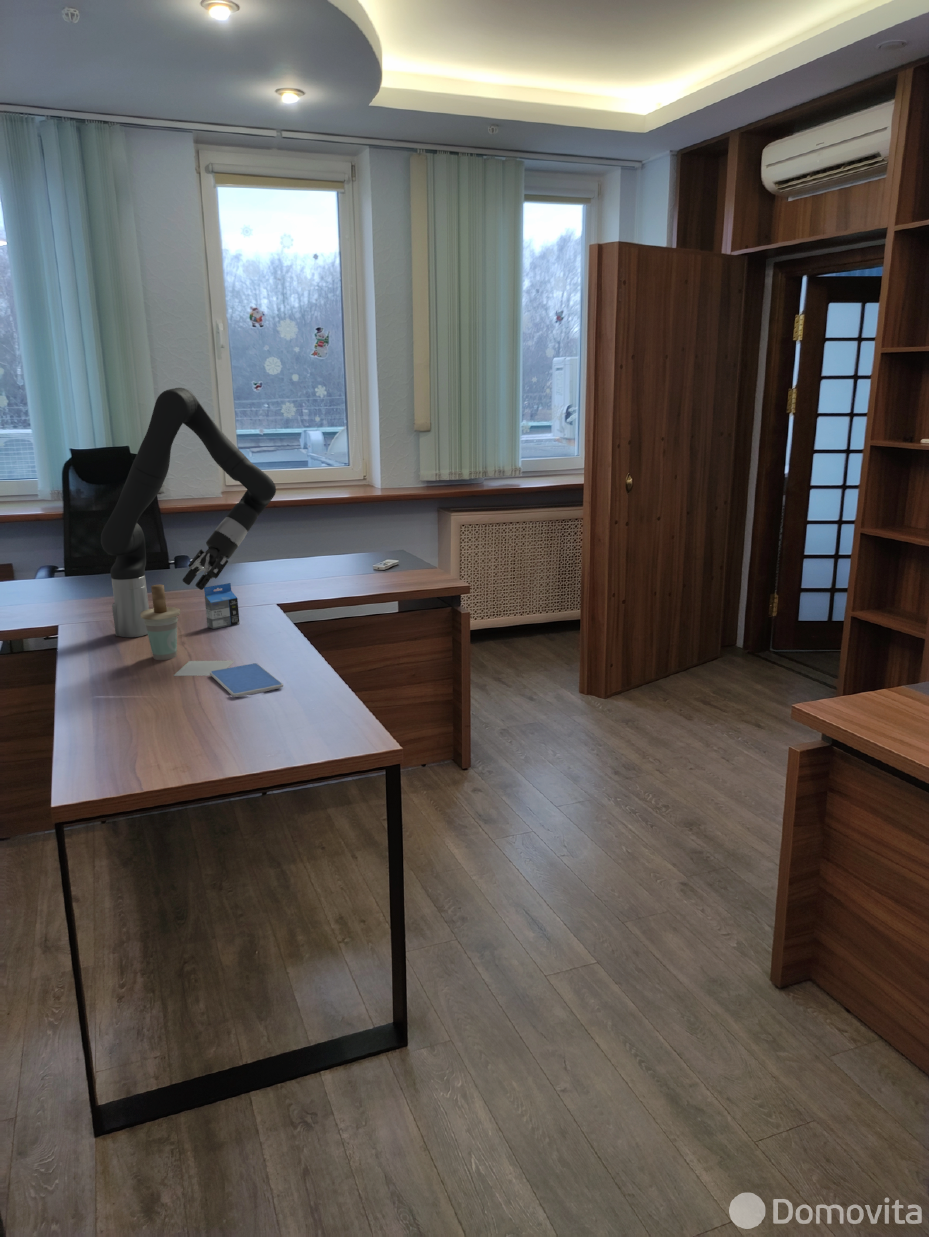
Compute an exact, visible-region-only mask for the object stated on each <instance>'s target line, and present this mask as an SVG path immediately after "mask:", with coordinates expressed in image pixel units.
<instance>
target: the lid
mask: <svg viewBox="0 0 929 1237" xmlns="http://www.w3.org/2000/svg"><path fill="white" fill-rule="evenodd" d="M150 589H151V596H152V597H151V598H152V606H153V608H149V609H148V610H145V611H143V612H141V613H140V615H141V618H143V619H148V620H158V619H167V618H172V617H175V616H176V617H177V616H180V615H181V609H180V608H179V607H174V606H167V602H166V593H165V585H164V584H153V585H151V586H150Z"/></svg>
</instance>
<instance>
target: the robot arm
mask: <svg viewBox="0 0 929 1237" xmlns="http://www.w3.org/2000/svg"><path fill="white" fill-rule="evenodd" d="M183 424H184V426H186V427H187V428H189V429H190V430H191V431H192V433H194V434H195V435H196V436H197V437H198V438H199V440H200V441H201V442H202V444H203V445H204V446H205V449H206V450H207V451H208V453H209V455H210V457H211V458H212V459H213V461H215V463H216V464H217V465H218V466H219V467H220V468H221V469H222V470H223V471H224V472H225V473H226V474H227V475H228V477H230V478H231V479H232V480H234V481H235V482H239V483H240V484H241V486H243V487H244V488H245V489H247V490H245V493H244V494H243V495H242V496H241V498H240V499H239V501H238V502H237V503H236V504H234V506H233V507H232V509H231V510H229V513H228V514H227V515H226V517H224V519H222V521H221V522H220V523H219V524H218V525H217V527H216V528H215V530H214V531H213V533H211V534H210V537H209V538H208V539H207V540H206V541H205V543H206V546H207V547H208V548H207V549H206V550H203V549H202V548H201V549H200V550H199V551H198V552H197V553H196V555H195V556H194V557H193V558H192V559H191V561H190V562H189V564H188V565H187V566H188V568H189V570H188V572H187V573H186V574H185V575H184V577H183V578H182V580H181V581H182V582H183V583H184V584H186V585H187V586H190V585H191V583H192V582H193V581H194V579H195V578H196V577H197V575H198V574H200V573H201V572H204V573H203V574H202V575H200V576H201V577H200V578H199V579H198V580H197V582H196V583H195V587H196V588H197V589H199V590H200V591H204V587H207V585H208V583H210V581H211V580H213V579H218V577H219V576H220V574H221V573H222V571H223V570H224V569H225V567H226V565H227V564H228V563H229V559H231V558H232V556H233V554H234V553H235V552H236V551H237V549H238V548H239V546H240V545H241V544H242V542H243V541H244V539H245V538H246V536H247V534H248V532H249V531H250V530H251V529H252V527H253V526H254V525H255V523H256V521H257V519H258V517H259V516H260V515H261V514H262V512H264V510H265V508H266V507H267V506H268V505H269V504H270V502H271V501H272V500H273V499H274V497H275V495H276V493H277V488H276V487H277V486H276V484H275V482H274V480H273V479H272V478H271V477H270V476H269V475H268V474H267V473H265V472H264V471H263V470H262V469H261V468H260V467H258V466H257V465H256V464H254V463H252V462H251V460H250V459H249V458H248V457H247V456H246V455H245V454H244V453H243V452H242V451H241V450H240V448H238V447H237V446H236V445H235V444H234V443H233V442H232V440H230V439H229V438H228V436H227V435H225V433H224V432H223V431H222V430H221V429H220V428H219V426H218V425H217V424H216V422H214V420H213V419H212V418H211V416H210V415H209V414H208V413H207V411H206V410H205V408H204V407H203V406H202V404H201V403H200V401H199V400H198V398H197V397H196V395H194V393H193V392H192V391H190V390H189V389H187V388H185V387H175V388H170V389H166V390H164V391H162V392H161V393H159V395H158V396H157V399H156V401H155V403H154V406H153V410H152V414H151V418H150V422H149V425H148V428H147V431H146V434H145V436H144V437H143V439H142V442H141V443H140V446H139V449H138V451H137V453H136V456H135V458H134V460H133V462H132V464H131V467H130V470H129V471H128V475H127V477H126V480H125V483H124V485H123V487H122V490H121V492H120V494H119V497H118V500H117V503H116V505H115V507H114V509H113V510H112V512H111V514H110V516H109V518H108V520H106V521H107V522H106V523H105V524H104V526H103V529H102V531H101V534H100V544H101V546H102V549H103V551H104V552H105V553H107V554H108V555H110V556H113V557H114V556H115V557H116V559H115V561H114V563H113V565H112V566H111V568H110V570H109V571H110V578H111V586H112V593H113V601H114V603H112V604H111V609H112V616H113V625H114V626H113V627H114V633H115V634H114V635H115V637H121V638H137V637H143V636H145V635H147V636H148V633H147V629H146V625H145V624H144V623H145V622H144V621H145V619H143V618H141V615H140V613H141V612H143V611H145V610H148V609H150V606H149V597H148V590H147V588H148V587H147V581H146V573H145V572H146V570H145V569H146V567H147V552H146V548H147V547H146V539H145V533H144V531H143V529H142V527H141V525H139V523H138V521H139V519H140V518H141V516H142V514H143V513H144V511H146V509H147V508H148V507H149V505H150V504H151V503H152V502H153V501H154V500H155V498H157V495H158V494H159V493H160V491H161V489H162V487H163V485H164V482H165V480H166V478H167V476H168V473H169V468H170V463H171V451H172V446H173V443H174V441H175V439H176V436H177V434H178V433H179V430H180V429H181V427H182V425H183Z"/></svg>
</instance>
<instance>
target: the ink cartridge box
mask: <svg viewBox="0 0 929 1237" xmlns="http://www.w3.org/2000/svg"><path fill="white" fill-rule="evenodd" d="M217 589H220V590H217ZM203 591H204V601H205V602H204V604H205V605H204V606H205V615H206V626H207V628H209V629H212V630H215V629H221V628H224V627H225V628H226V627H230V626H231V627H232V626H235V625H240V622H241V621H240V612H239V601H238V600H239V599H238V597H237V596H236V594H235V593H234V592H233V591H232V587H231V582H229V583H222V584H216V585H215V584H214V585H210V586H205V587H204V589H203Z"/></svg>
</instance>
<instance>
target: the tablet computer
mask: <svg viewBox="0 0 929 1237" xmlns="http://www.w3.org/2000/svg"><path fill="white" fill-rule="evenodd" d="M210 675H211V676H210V677H212V678H213V679H214V680H215V681H216V682H217V683H218V684H219V685H220V686H221V687H223V688H224V689H225V690H226V691H227V692H228V693H229V694H230V695H231V697H235V698H237V697H238V698H239V697H245V696H251V695H254V694H259V693H264V692H265V693H266V692H268V691H269V692H270V691H273V690H277V689H281V688H283V687H284V683H282V681H280V680H279V679H277V678H276V677H275V676H273V674H271V673H270V672H269V671H267V670H266V669H265V668H263V667H262V665H260V664H258V663H249V664H244V665H238V666H232V667H228V668H226V669H221V670H215V671H211V672H210Z"/></svg>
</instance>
